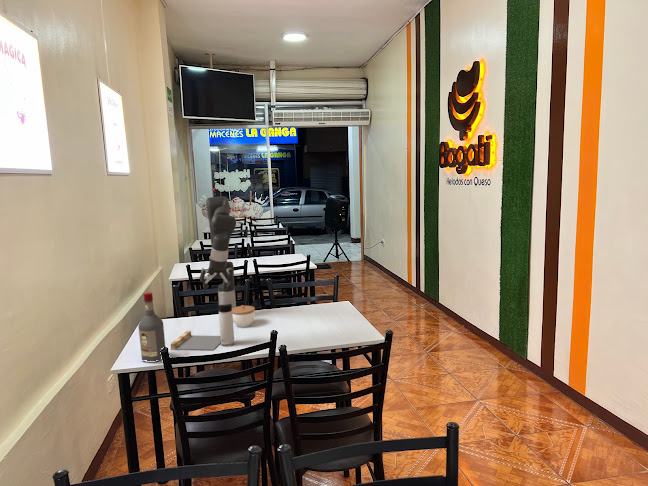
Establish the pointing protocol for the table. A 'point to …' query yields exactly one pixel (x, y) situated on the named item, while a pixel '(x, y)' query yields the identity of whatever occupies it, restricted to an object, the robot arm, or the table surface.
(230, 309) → the travel mug
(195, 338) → the mat
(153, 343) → the liquor
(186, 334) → the rail
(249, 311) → the lidded bowl
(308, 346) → the table surface
